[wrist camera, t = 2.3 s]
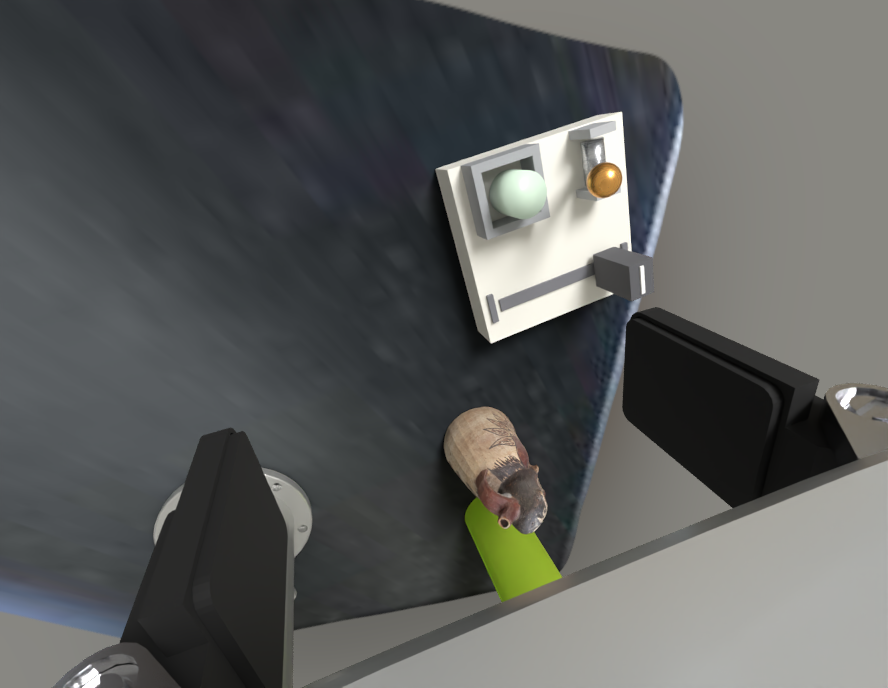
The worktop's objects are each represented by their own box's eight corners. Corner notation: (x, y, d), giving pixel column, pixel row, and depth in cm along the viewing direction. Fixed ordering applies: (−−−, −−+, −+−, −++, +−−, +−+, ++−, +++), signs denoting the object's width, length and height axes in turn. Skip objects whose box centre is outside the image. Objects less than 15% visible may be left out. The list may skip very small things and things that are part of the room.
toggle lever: (609, 177, 32) (626, 206, 25) (581, 184, 33) (590, 213, 26) (605, 134, 31) (622, 151, 24) (576, 142, 32) (584, 161, 24)
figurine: (489, 470, 46) (546, 564, 35) (430, 459, 43) (473, 558, 32) (519, 413, 44) (589, 495, 33) (460, 398, 41) (516, 481, 30)
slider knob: (616, 277, 37) (655, 292, 33) (596, 286, 36) (632, 301, 32) (613, 246, 35) (653, 257, 31) (592, 254, 35) (630, 267, 31)
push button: (532, 207, 31) (550, 210, 29) (494, 220, 30) (509, 225, 28) (524, 163, 30) (542, 164, 27) (485, 176, 29) (500, 178, 27)
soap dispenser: (504, 474, 46) (630, 667, 29) (518, 516, 50) (638, 712, 32) (455, 498, 46) (553, 711, 28) (472, 539, 49) (570, 754, 31)
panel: (612, 277, 41) (655, 293, 36) (477, 330, 39) (503, 356, 34) (597, 115, 34) (646, 108, 29) (435, 169, 32) (459, 171, 27)
